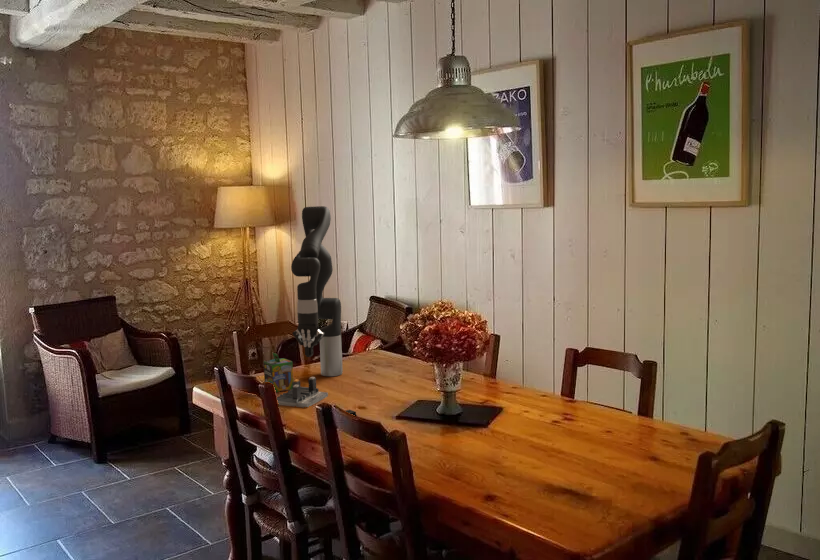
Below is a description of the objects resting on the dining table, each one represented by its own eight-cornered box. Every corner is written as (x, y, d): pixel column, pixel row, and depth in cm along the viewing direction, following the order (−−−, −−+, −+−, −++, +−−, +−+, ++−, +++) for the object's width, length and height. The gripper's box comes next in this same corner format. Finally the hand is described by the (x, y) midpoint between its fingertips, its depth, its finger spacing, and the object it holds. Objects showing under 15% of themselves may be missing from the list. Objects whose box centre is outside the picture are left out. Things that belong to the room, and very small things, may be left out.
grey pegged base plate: (294, 392, 293) (293, 374, 292) (328, 396, 287) (327, 377, 286) (271, 404, 278) (270, 384, 277) (306, 408, 272) (306, 388, 271)
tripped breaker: (296, 394, 284) (295, 379, 284) (300, 394, 284) (300, 379, 283) (292, 396, 282) (292, 380, 281) (297, 396, 281) (296, 381, 281)
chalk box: (294, 389, 298) (293, 353, 296) (273, 393, 293) (271, 356, 291) (284, 384, 306) (283, 349, 304) (264, 388, 301) (262, 352, 299)
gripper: (328, 310, 278) (329, 355, 280) (297, 308, 283) (298, 353, 285) (318, 313, 271) (319, 359, 273) (286, 311, 276) (288, 357, 278)
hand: (309, 356), depth 279 cm, fingers closed
